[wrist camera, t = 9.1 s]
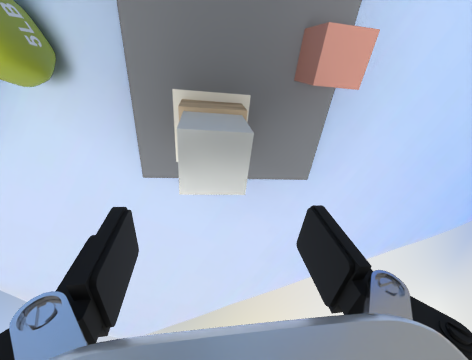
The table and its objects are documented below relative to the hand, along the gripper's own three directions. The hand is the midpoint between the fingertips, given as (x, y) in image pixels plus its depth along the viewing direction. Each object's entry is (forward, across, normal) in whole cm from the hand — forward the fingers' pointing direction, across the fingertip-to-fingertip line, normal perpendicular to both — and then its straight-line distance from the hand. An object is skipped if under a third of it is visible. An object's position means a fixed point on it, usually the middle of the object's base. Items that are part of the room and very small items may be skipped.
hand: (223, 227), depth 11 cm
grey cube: (+14, 0, 0) cm, 14 cm away
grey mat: (+18, -3, -4) cm, 19 cm away
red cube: (+18, -12, -9) cm, 23 cm away
